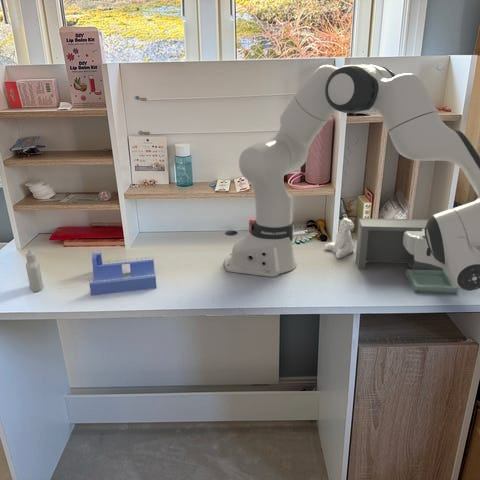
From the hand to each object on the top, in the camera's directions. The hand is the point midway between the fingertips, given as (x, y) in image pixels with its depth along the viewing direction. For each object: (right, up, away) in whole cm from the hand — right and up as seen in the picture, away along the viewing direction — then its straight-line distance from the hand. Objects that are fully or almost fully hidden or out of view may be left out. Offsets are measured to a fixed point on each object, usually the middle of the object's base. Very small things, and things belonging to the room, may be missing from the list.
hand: (437, 231), depth 128 cm
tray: (0, -15, +5) cm, 16 cm away
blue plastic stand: (-88, -15, +11) cm, 90 cm away
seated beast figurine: (-20, -7, +28) cm, 35 cm away
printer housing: (-3, -10, +17) cm, 20 cm away
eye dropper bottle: (-113, -16, +7) cm, 114 cm away
